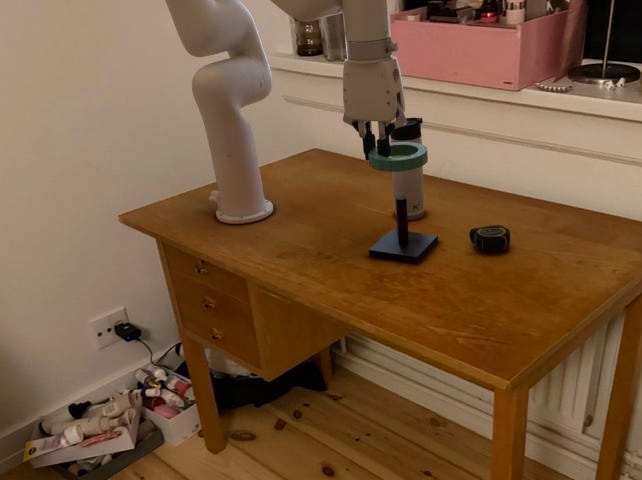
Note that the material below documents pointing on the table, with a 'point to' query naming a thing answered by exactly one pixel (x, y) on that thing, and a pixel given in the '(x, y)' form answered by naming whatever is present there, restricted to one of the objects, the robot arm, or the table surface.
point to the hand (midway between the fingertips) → (377, 158)
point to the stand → (403, 240)
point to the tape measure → (490, 238)
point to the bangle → (412, 160)
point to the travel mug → (409, 171)
